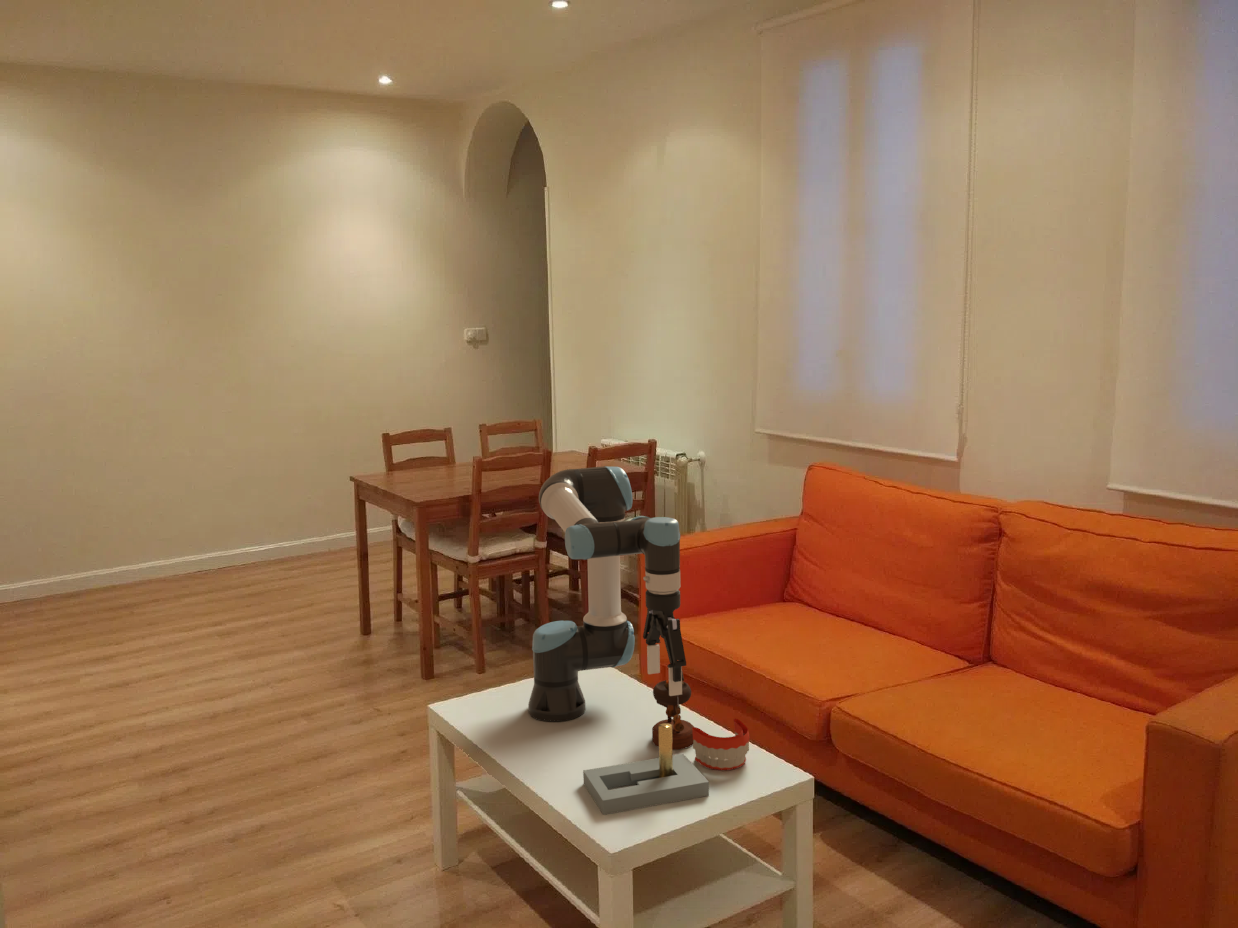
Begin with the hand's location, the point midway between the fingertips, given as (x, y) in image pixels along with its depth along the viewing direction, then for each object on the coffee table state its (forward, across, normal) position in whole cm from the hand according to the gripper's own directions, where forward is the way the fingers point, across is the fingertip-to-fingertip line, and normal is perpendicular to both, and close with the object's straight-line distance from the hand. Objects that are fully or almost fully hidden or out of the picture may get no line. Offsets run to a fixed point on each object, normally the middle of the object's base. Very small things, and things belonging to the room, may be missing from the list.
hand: (664, 683), depth 221 cm
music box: (+24, -22, +10) cm, 34 cm away
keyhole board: (+24, 0, -5) cm, 24 cm away
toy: (+24, -5, +17) cm, 30 cm away
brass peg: (+24, 0, 0) cm, 24 cm away
